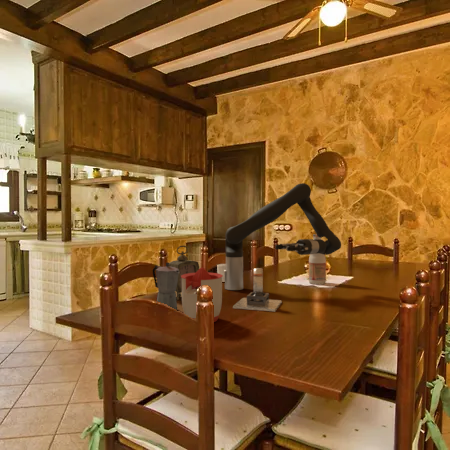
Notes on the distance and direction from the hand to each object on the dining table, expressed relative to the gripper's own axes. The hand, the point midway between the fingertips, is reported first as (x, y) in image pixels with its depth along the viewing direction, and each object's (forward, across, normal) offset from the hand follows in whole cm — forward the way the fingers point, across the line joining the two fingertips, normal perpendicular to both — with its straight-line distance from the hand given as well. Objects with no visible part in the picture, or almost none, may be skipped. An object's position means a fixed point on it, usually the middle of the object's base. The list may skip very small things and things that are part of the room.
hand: (281, 247), depth 169 cm
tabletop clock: (+37, -28, +25) cm, 53 cm away
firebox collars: (+16, +4, +24) cm, 29 cm away
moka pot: (+53, -11, +25) cm, 60 cm away
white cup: (-1, -52, +25) cm, 58 cm away
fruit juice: (-44, -19, +24) cm, 53 cm away
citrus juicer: (+48, +11, +25) cm, 55 cm away
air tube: (+16, +4, +23) cm, 28 cm away
